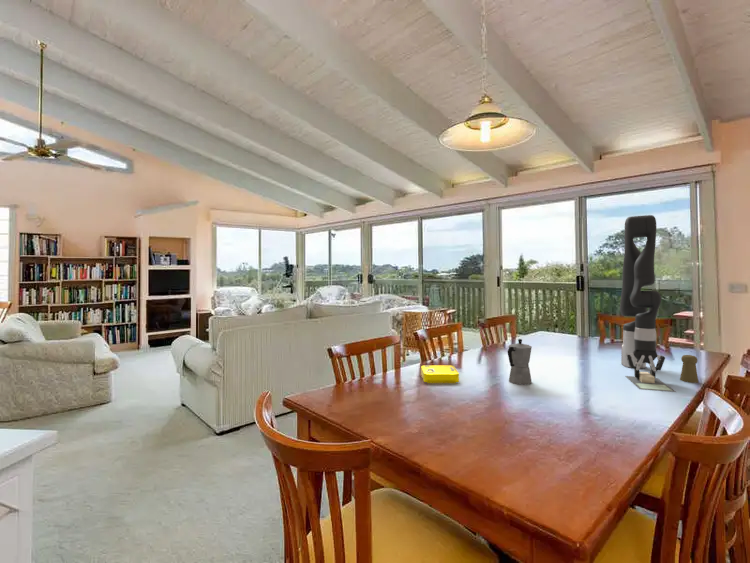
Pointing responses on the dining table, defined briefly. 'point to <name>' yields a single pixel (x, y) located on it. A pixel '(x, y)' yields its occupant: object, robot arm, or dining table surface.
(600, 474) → the dining table surface
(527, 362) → the coffeepot
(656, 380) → the grey board
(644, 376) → the maple tile
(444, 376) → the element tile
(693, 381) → the cork
